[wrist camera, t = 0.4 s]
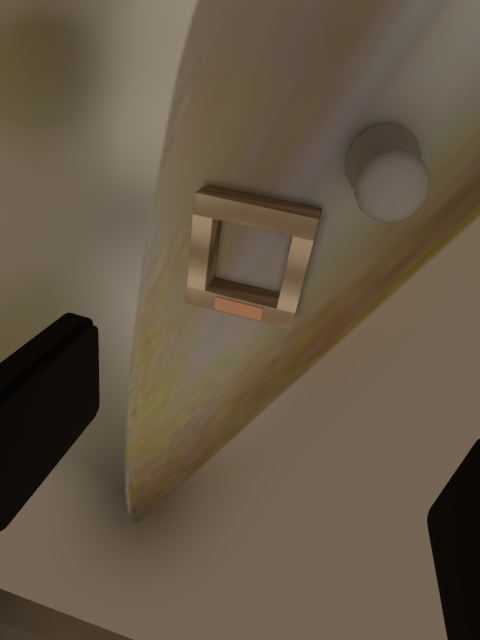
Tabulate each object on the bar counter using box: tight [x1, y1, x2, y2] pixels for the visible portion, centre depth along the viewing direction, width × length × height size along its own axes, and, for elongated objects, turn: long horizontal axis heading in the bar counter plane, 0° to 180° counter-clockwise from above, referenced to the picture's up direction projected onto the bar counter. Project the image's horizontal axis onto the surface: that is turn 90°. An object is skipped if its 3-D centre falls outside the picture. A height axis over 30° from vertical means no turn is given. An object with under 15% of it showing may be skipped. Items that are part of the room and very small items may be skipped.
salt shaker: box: [346, 124, 430, 223], centre depth 29 cm, size 6×6×13 cm
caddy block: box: [186, 185, 322, 330], centre depth 40 cm, size 12×11×4 cm
